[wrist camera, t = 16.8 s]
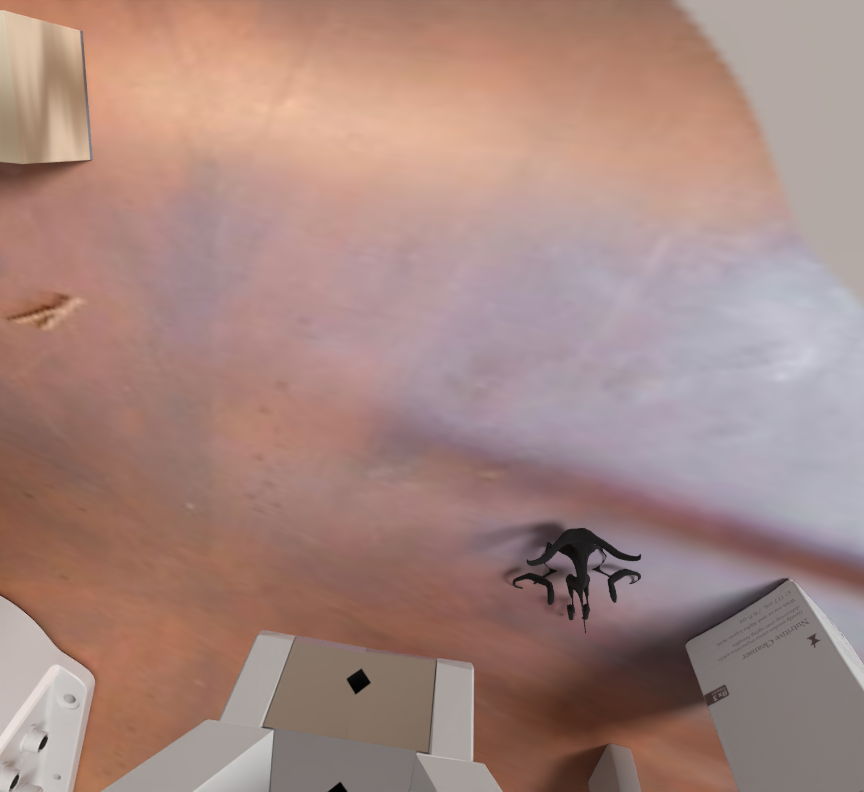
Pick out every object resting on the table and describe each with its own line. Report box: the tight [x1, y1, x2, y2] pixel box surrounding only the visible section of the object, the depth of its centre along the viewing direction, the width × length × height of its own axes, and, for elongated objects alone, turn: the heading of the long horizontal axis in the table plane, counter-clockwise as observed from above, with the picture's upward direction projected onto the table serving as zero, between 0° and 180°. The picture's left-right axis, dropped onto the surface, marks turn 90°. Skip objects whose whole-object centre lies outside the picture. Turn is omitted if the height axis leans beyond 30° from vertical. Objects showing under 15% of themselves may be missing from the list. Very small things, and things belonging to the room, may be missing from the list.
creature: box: [513, 528, 641, 633], centre depth 41 cm, size 8×5×8 cm
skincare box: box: [685, 579, 864, 792], centre depth 37 cm, size 8×6×15 cm
